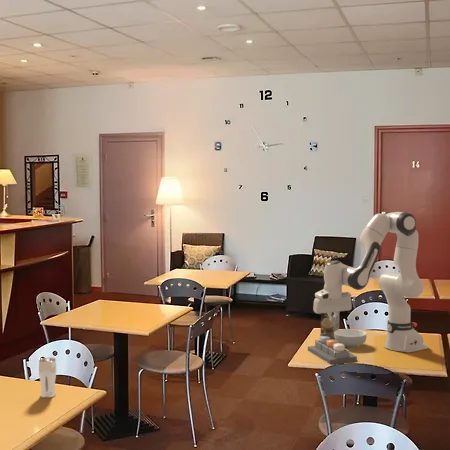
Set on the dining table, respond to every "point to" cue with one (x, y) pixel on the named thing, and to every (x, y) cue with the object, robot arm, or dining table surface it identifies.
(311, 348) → the grey slotted rack
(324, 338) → the key slate
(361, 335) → the cereal bowl
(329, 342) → the key terracotta
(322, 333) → the coffee box
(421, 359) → the dining table surface
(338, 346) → the key ivory
